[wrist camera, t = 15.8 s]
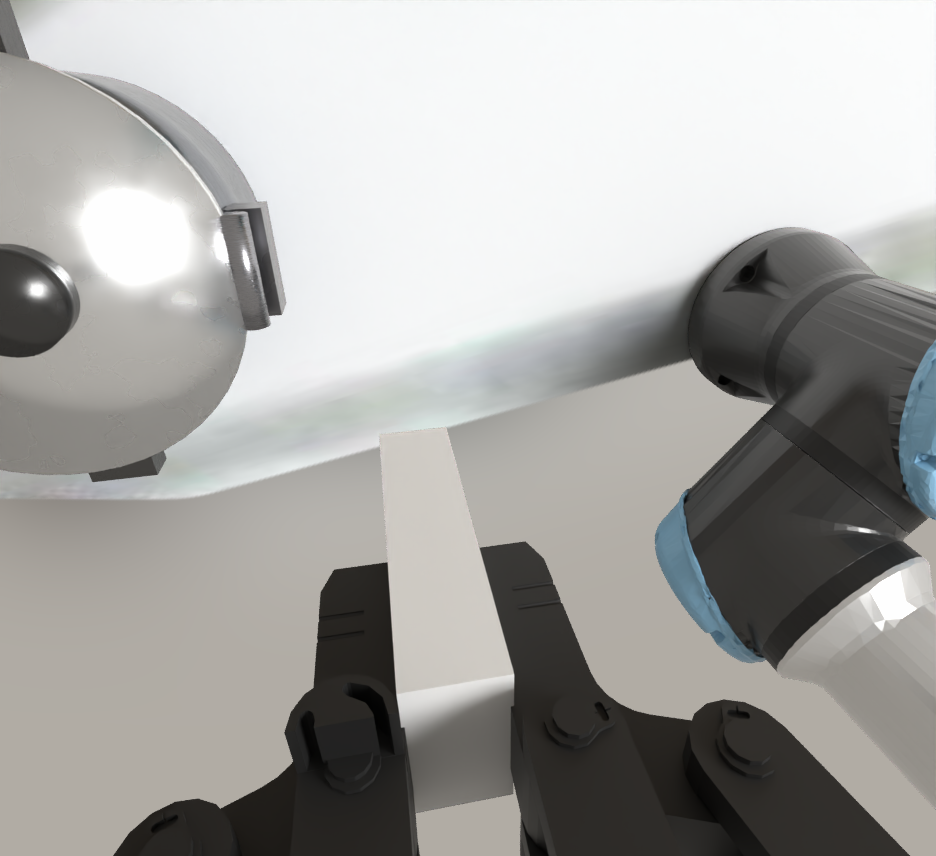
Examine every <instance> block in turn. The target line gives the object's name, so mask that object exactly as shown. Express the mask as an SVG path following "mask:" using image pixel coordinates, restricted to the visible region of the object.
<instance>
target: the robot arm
mask: <svg viewBox="0 0 936 856" xmlns="http://www.w3.org/2000/svg"><path fill="white" fill-rule="evenodd" d="M688 338H689V347H690V352H691V355H692V358H693V361H694V362H695V365H696V366H697V368H698V369H699V371H700V372H701V373H702V374H703V375H704V376H705V377H706V378H707V379H708V380H709V381H711V382H712V383H713V384H714V385H716V386H717V387H719V388H720V389H721V390H723V391H725V392H726V393H729V394H730V395H733V396H735V397H738V398H742V399H747V400H751V401H756V402H761V403H765V404H770V405H774V406H773V407H772V408H771V409H770V410H769V411H768V412H767V413H766V414H765V415H764V416H763V417H762V418H761V419H760V420H759V421H758V422H757V423H756V424H755V425H754V426H753V427H752V428H751V429H750V430H749V431H748V432H747V433H746V434H745V435H744V436H743V437H742V438H741V439H740V440H739V441H738V442H737V443H736V444H735V445H734V446H733V447H732V448H731V449H730V450H729V451H728V452H727V453H726V454H725V455H724V456H723V457H722V458H721V459H720V460H719V461H718V462H717V463H716V464H715V465H714V466H713V467H712V468H711V469H710V470H709V471H708V472H707V473H706V474H705V475H704V476H703V477H702V478H701V479H700V480H699V481H698V482H697V483H696V484H695V485H694V486H693V487H692V488H690V489H687V490H686V491H685V492H684V493H683V494H682V495H681V498H680V500H679V502H678V504H677V505H676V506H675V507H674V508H673V509H672V510H671V511H670V513H669V514H668V515H667V516H666V517H665V518H664V519H663V520H662V521H661V523H660V524H659V526H658V528H657V530H656V534H655V545H656V546H655V550H656V555H657V559H658V562H659V564H660V567H661V569H662V571H663V574H664V576H665V578H666V579H667V581H668V583H669V585H670V587H671V589H672V590H673V592H674V593H675V595H676V596H677V598H678V599H679V601H680V602H681V604H682V605H683V607H684V608H685V609H686V610H687V612H688V613H689V615H690V616H691V617H692V618H693V620H694V621H695V622H696V623H697V624H698V625H699V627H700V628H701V629H702V630H703V631H704V632H706V633H710V634H711V636H712V637H713V639H714V640H715V642H716V644H717V645H718V646H720V647H721V648H722V649H723V650H724V651H726V652H727V653H728V654H729V655H731V656H732V657H734V658H736V659H738V660H740V661H742V662H746V663H755V662H763V661H765V660H767V661H768V662H769V663H770V664H771V665H772V667H773V668H774V669H775V670H776V671H777V672H778V673H779V674H780V675H781V676H782V677H783V678H788V679H793V680H799V681H805V682H810V683H814V684H816V685H818V686H820V687H823V688H824V689H825V690H826V692H827V693H828V694H829V695H830V696H831V697H832V698H833V699H834V700H835V701H836V702H837V703H838V704H839V706H840V707H841V708H842V709H843V710H844V711H845V712H846V713H847V714H848V715H849V716H850V718H851V719H852V720H853V721H854V722H855V723H856V724H857V725H858V726H859V727H860V728H861V729H862V730H863V732H864V733H865V734H866V735H867V736H868V737H869V738H870V739H871V740H872V741H873V742H874V744H875V745H876V746H877V747H878V748H879V749H880V750H881V751H882V752H883V753H884V754H885V755H886V756H887V758H888V759H889V760H890V761H891V762H892V763H893V764H894V765H895V766H896V767H897V768H898V769H899V771H900V772H901V773H902V774H903V775H904V776H905V777H906V778H907V779H908V780H909V781H910V782H911V784H912V785H913V786H914V787H915V788H916V789H917V790H918V791H919V792H920V793H921V794H922V795H923V797H924V798H925V799H926V800H927V801H928V802H929V803H930V804H931V805H932V806H933V807H934V809H935V810H936V599H935V597H934V596H933V591H932V581H931V572H930V564H929V562H928V561H927V560H926V559H925V558H923V557H922V556H921V555H919V554H918V553H917V552H916V551H914V550H913V549H912V548H911V547H909V546H908V545H907V544H906V543H904V542H903V540H904V538H905V537H907V536H908V535H909V534H910V533H911V532H912V531H913V530H915V529H916V528H917V527H918V526H919V525H921V524H922V523H923V522H924V521H925V520H927V519H928V518H929V517H930V518H932V519H934V520H936V294H933V293H930V292H927V291H923V290H920V289H917V288H914V287H911V286H908V285H904V284H901V283H898V282H895V281H891V280H888V279H885V278H882V277H879V276H877V275H876V274H875V273H874V272H873V271H872V270H871V269H870V268H869V267H868V266H867V265H866V264H865V263H864V262H863V261H862V260H861V259H860V258H859V257H858V256H857V255H856V254H854V252H853V251H852V250H851V249H850V248H849V247H848V246H847V245H845V244H844V243H843V242H841V241H840V240H838V239H836V238H834V237H832V236H830V235H827V234H824V233H820V232H816V231H813V230H809V229H805V228H796V227H790V228H781V229H775V230H772V231H768V232H765V233H763V234H760V235H758V236H756V237H754V238H752V239H750V240H748V241H746V242H745V243H743V244H742V245H740V246H739V247H737V248H736V249H735V250H733V251H732V252H731V253H730V254H729V255H728V256H726V257H725V258H724V259H723V260H722V261H721V262H720V263H719V265H718V266H717V267H716V268H715V269H714V270H713V272H712V273H711V274H710V276H709V277H708V278H707V280H706V281H705V283H704V285H703V286H702V288H701V290H700V292H699V294H698V296H697V298H696V301H695V303H694V306H693V309H692V313H691V317H690V322H689V332H688ZM768 424H769V425H768ZM772 427H773V428H772ZM776 430H777V431H776ZM780 433H781V434H782V435H781V434H780ZM379 439H380V454H381V469H382V484H383V498H384V513H385V529H386V544H387V559H388V562H387V563H379V564H372V565H365V566H358V567H351V568H343V569H336V570H334V571H333V573H332V574H331V576H330V578H329V579H328V581H327V583H326V584H325V586H324V588H323V590H322V591H321V597H320V609H319V623H318V636H317V638H318V643H317V649H316V662H315V677H314V688H313V689H311V690H310V691H309V692H307V693H306V694H305V695H304V696H303V697H302V698H301V700H300V701H299V702H298V704H297V705H296V706H295V708H294V709H293V710H292V711H291V714H290V717H289V720H288V723H287V726H286V730H285V736H286V739H287V742H288V746H289V749H290V752H291V755H292V759H293V762H292V764H291V765H290V766H289V767H288V768H287V769H286V770H285V771H284V772H283V773H282V774H280V775H279V776H278V777H277V778H276V779H274V780H272V781H271V782H269V783H268V784H266V785H265V786H263V787H262V788H260V789H258V790H256V791H254V792H252V793H250V794H248V795H246V796H244V797H242V798H241V799H239V800H236V801H234V802H233V803H231V804H229V805H227V806H225V807H223V808H221V809H220V808H219V807H218V806H217V805H216V804H213V803H210V802H207V801H204V800H200V799H192V800H185V801H179V802H174V803H172V804H170V805H168V806H166V807H164V808H162V809H160V810H158V811H156V812H154V813H152V814H151V815H149V816H148V817H147V818H146V819H145V820H144V821H143V822H141V823H140V824H139V825H138V826H137V827H136V828H135V829H133V830H132V831H131V832H130V833H129V834H128V836H127V837H126V838H125V840H124V841H123V843H122V844H121V846H120V847H119V848H118V850H117V851H116V853H115V854H114V855H113V856H420V854H419V847H418V839H417V827H416V815H415V813H418V812H424V811H429V810H434V809H439V808H444V807H449V806H455V805H460V804H465V803H470V802H475V801H480V800H485V799H490V798H496V797H500V796H505V795H511V794H513V782H514V786H515V790H516V795H517V799H518V803H519V808H520V812H521V831H520V855H521V856H910V855H909V854H907V852H906V851H905V850H904V849H902V847H901V846H900V845H899V844H898V843H897V842H896V841H895V840H894V839H893V838H892V837H891V836H890V835H889V834H888V833H887V832H886V831H885V830H884V829H883V828H882V826H880V824H879V823H878V822H877V821H876V820H875V819H874V818H873V817H872V816H871V815H870V814H869V813H868V812H867V811H866V810H865V809H864V808H863V807H862V806H861V805H860V804H859V803H858V802H857V801H856V800H855V799H854V798H853V797H852V796H851V795H850V794H849V793H848V792H847V790H846V789H845V788H844V787H842V786H841V784H840V783H839V782H838V781H837V780H836V779H835V778H834V777H833V776H832V775H831V774H830V773H829V772H828V771H827V770H826V769H825V768H824V767H823V766H822V765H821V764H820V763H819V762H818V761H817V760H816V759H815V758H814V757H813V755H811V754H810V752H809V751H808V750H807V749H806V748H805V747H804V746H803V745H802V744H801V743H800V742H799V741H798V740H797V739H796V738H795V737H794V736H793V735H792V734H791V733H790V732H789V731H788V730H787V729H786V728H785V727H784V726H783V725H782V724H780V723H779V722H778V721H776V720H775V719H774V718H773V717H772V716H770V715H769V714H768V713H766V712H765V711H763V710H761V709H758V708H756V707H754V706H752V705H749V704H747V703H745V702H738V701H731V700H720V701H716V702H711V703H707V704H706V705H704V706H703V707H702V708H701V709H700V710H698V711H697V712H696V713H695V714H694V716H693V719H692V721H691V720H684V719H677V718H669V717H663V716H656V715H649V714H645V713H641V712H637V711H634V710H632V709H629V708H627V707H625V706H623V705H621V704H619V703H618V702H616V701H615V700H614V699H612V698H611V697H609V696H608V695H607V694H606V693H605V692H604V691H603V690H602V689H601V688H600V686H599V685H598V684H597V683H596V681H595V679H594V678H593V676H592V674H591V672H590V670H589V667H588V665H587V663H586V660H585V658H584V655H583V653H582V651H581V648H580V646H579V643H578V641H577V638H576V636H575V633H574V631H573V629H572V626H571V624H570V621H569V619H568V616H567V614H566V611H565V610H564V607H563V604H562V603H561V601H560V597H559V595H558V592H557V590H556V587H555V585H553V580H552V577H551V575H550V573H549V570H548V568H547V565H546V563H545V561H544V559H543V558H542V557H541V556H540V555H539V554H538V553H537V552H536V551H535V550H534V549H533V548H532V547H531V546H529V544H527V543H526V542H519V543H512V544H504V545H497V546H490V547H482V548H479V545H478V541H477V537H476V534H475V530H474V527H473V523H472V519H471V516H470V512H469V508H468V505H467V502H466V498H465V494H464V491H463V487H462V483H461V479H460V476H459V472H458V469H457V465H456V461H455V458H454V454H453V451H452V447H451V443H450V439H449V436H448V432H447V428H446V427H442V428H433V429H424V430H415V431H406V432H397V433H388V434H379ZM790 441H791V442H790ZM794 444H795V445H794ZM799 448H800V449H799ZM808 455H809V456H808ZM817 462H818V463H817ZM831 473H832V474H831ZM891 520H892V521H891ZM895 523H896V524H895ZM907 532H908V533H909V534H908V533H907Z"/></svg>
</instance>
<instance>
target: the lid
mask: <svg viewBox="0 0 936 856" xmlns="http://www.w3.org/2000/svg"><path fill="white" fill-rule="evenodd" d="M270 324H271V323H270V318H269V313H268V308H267V304H266V299H265V294H264V289H263V284H262V280H261V275H260V270H259V265H258V261H257V256H256V251H255V246H254V242H253V237H252V232H251V227H250V222H249V218H248V213H247V212H243V211H235V212H225V213H223V212H222V210H221V208H220V206H219V205H218V203H217V201H216V200H215V198H214V196H213V194H212V193H211V191H210V190H209V189H208V187H207V186H206V185H205V183H204V182H203V181H202V179H201V178H200V177H199V175H198V174H197V173H196V171H195V170H194V169H193V167H192V166H191V165H190V164H189V163H188V162H187V161H186V160H185V159H184V157H183V156H182V155H181V154H180V153H179V152H178V151H177V150H176V149H175V148H174V147H173V146H172V145H171V143H170V142H168V141H167V140H166V139H165V138H164V137H163V136H162V135H160V134H159V133H158V132H157V131H156V130H155V129H154V128H152V127H151V126H150V125H149V124H148V123H147V122H146V121H144V120H143V119H142V118H140V117H139V116H138V115H136V114H135V113H133V112H132V111H131V110H129V109H128V108H126V107H125V106H123V105H122V104H121V103H119V102H118V101H116V100H115V99H113V98H112V97H110V96H108V95H106V94H105V93H103V92H101V91H99V90H97V89H96V88H94V87H92V86H90V85H88V84H87V83H85V82H83V81H81V80H79V79H77V78H75V77H72V76H70V75H68V74H65V73H63V72H61V71H58V70H56V69H54V68H51V67H49V66H47V65H44V64H41V63H38V62H34V61H31V60H28V59H24V58H21V57H18V56H14V55H11V54H8V53H3V52H0V470H6V471H11V472H20V473H30V474H41V475H70V474H80V473H90V472H98V471H103V470H108V469H113V468H118V467H122V466H125V465H128V464H131V463H134V462H137V461H141V460H144V459H146V458H148V457H150V456H153V455H155V454H157V453H159V452H161V451H163V450H166V449H167V448H169V447H170V446H172V445H174V444H175V443H177V442H178V441H180V440H182V439H183V438H185V437H186V436H187V435H189V434H190V433H191V432H192V431H193V430H195V429H196V428H197V427H198V426H199V425H201V424H202V423H203V422H204V421H205V420H206V418H207V417H208V416H209V415H210V414H211V413H212V412H213V411H214V410H215V409H216V408H217V406H218V405H219V403H220V402H221V400H222V399H223V397H224V396H225V394H226V393H227V391H228V390H229V388H230V386H231V384H232V381H233V379H234V377H235V375H236V373H237V371H238V368H239V365H240V361H241V358H242V354H243V351H244V348H245V343H246V338H247V330H259V329H263V328H266V327H268V326H270Z"/></svg>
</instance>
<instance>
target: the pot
mask: <svg viewBox="0 0 936 856" xmlns="http://www.w3.org/2000/svg"><path fill="white" fill-rule="evenodd" d="M0 52H3V53H8V54H11V55H14V56H18V57H21V58H24V59H28V60H29V57H28V54H27V51H26V48H25V45H24V42H23V39H22V36H21V34H20V31H19V28H18V25H17V22H16V19H15V16H14V13H13V10H12V7H11V4H10V1H9V0H0ZM58 71H59V70H58ZM61 72H63V73H65V74H68V75H70V76H72V77H75V78H77V79H79V80H81V81H83V82H85V83H87V84H88V85H90V86H92V87H94V88H96V89H97V90H99V91H101V92H103V93H105V94H106V95H108V96H110V97H112V98H113V99H115V100H116V101H118V102H119V103H121V104H122V105H123V106H125V107H126V108H128V109H129V110H131V111H132V112H133V113H135V114H136V115H138V116H139V117H140V118H142V119H143V120H144V121H146V122H147V123H148V124H149V125H150V126H151V127H152V128H154V129H155V130H156V131H157V132H158V133H159V134H160V135H162V136H163V137H164V138H165V139H166V140H167V141H168V142H170V143H171V145H172V146H173V147H174V148H175V149H176V150H177V151H178V152H179V153H180V154H181V155H182V156H183V157H184V159H185V160H186V161H187V162H188V163H189V164H190V165H191V166H192V167H193V169H194V170H195V171H196V173H197V174H198V175H199V177H200V178H201V179H202V181H203V182H204V183H205V185H206V186H207V187H208V189H209V190H210V191H211V193H212V194H213V196H214V198H215V200H216V201H217V203H218V205H219V206H220V208H221V210H222V212H223V213H225V212H235V211H243V212H247V213H248V218H249V222H250V227H251V232H252V237H253V242H254V246H255V251H256V256H257V261H258V265H259V270H260V275H261V280H262V284H263V289H264V294H265V299H266V304H267V308H268V313H269V316H273V315H282V313H283V310H284V308H285V305H286V299H285V294H284V289H283V284H282V279H281V273H280V268H279V263H278V258H277V253H276V247H275V242H274V237H273V232H272V227H271V221H270V216H269V211H268V206H267V201H266V202H257V201H256V198H255V196H254V193H253V191H252V189H251V187H250V185H249V184H248V182H247V180H246V178H245V176H244V174H243V173H242V171H241V170H240V168H239V167H238V165H237V164H236V163H235V161H234V160H233V158H232V157H231V155H230V154H229V153H228V152H227V151H226V149H225V148H224V147H223V146H222V145H221V144H220V143H219V141H218V140H217V139H216V138H215V137H214V136H213V135H212V134H211V133H210V132H209V131H208V130H206V129H205V128H204V127H203V126H202V125H201V124H200V123H199V122H198V121H196V120H195V119H194V118H192V117H191V116H190V115H188V114H187V113H186V112H184V111H183V110H182V109H180V108H179V107H177V106H176V105H174V104H172V103H170V102H169V101H167V100H165V99H164V98H162V97H160V96H159V95H157V94H154V93H152V92H150V91H148V90H145V89H143V88H141V87H138V86H136V85H133V84H130V83H127V82H124V81H120V80H117V79H114V78H109V77H103V76H98V75H92V74H85V73H76V72H68V71H61ZM165 460H166V456H165V453H164V450H163V451H161V452H159V453H157V454H155V455H153V456H150V457H148V458H146V459H144V460H141V461H137V462H134V463H131V464H128V465H125V466H122V467H118V468H113V469H108V470H103V471H98V472H90V473H89V475H90V477H91V479H92V482H98V481H107V480H115V479H124V478H133V477H142V476H150V475H158V473H159V471H160V470H161V468H162V466H163V464H164V462H165Z"/></svg>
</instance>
